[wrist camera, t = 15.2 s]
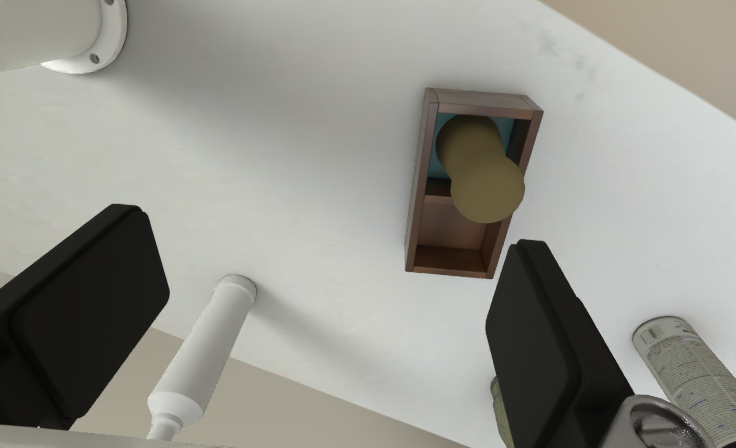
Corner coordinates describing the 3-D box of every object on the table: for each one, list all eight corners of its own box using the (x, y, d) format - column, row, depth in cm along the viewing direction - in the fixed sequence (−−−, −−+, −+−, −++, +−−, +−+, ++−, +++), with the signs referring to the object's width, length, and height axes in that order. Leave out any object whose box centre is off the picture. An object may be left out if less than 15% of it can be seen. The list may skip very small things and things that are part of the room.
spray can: (628, 354, 51) (743, 538, 34) (632, 318, 47) (761, 503, 31) (684, 348, 49) (833, 536, 33) (693, 310, 46) (863, 499, 29)
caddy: (404, 244, 44) (404, 271, 40) (425, 87, 35) (429, 102, 30) (483, 251, 44) (492, 279, 39) (526, 95, 34) (544, 110, 30)
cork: (443, 106, 34) (460, 152, 25) (510, 118, 34) (551, 167, 25) (428, 168, 37) (438, 229, 28) (488, 178, 38) (518, 242, 28)
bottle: (255, 274, 48) (141, 503, 27) (260, 304, 51) (161, 534, 29) (215, 272, 48) (70, 496, 27) (222, 302, 51) (97, 528, 30)
